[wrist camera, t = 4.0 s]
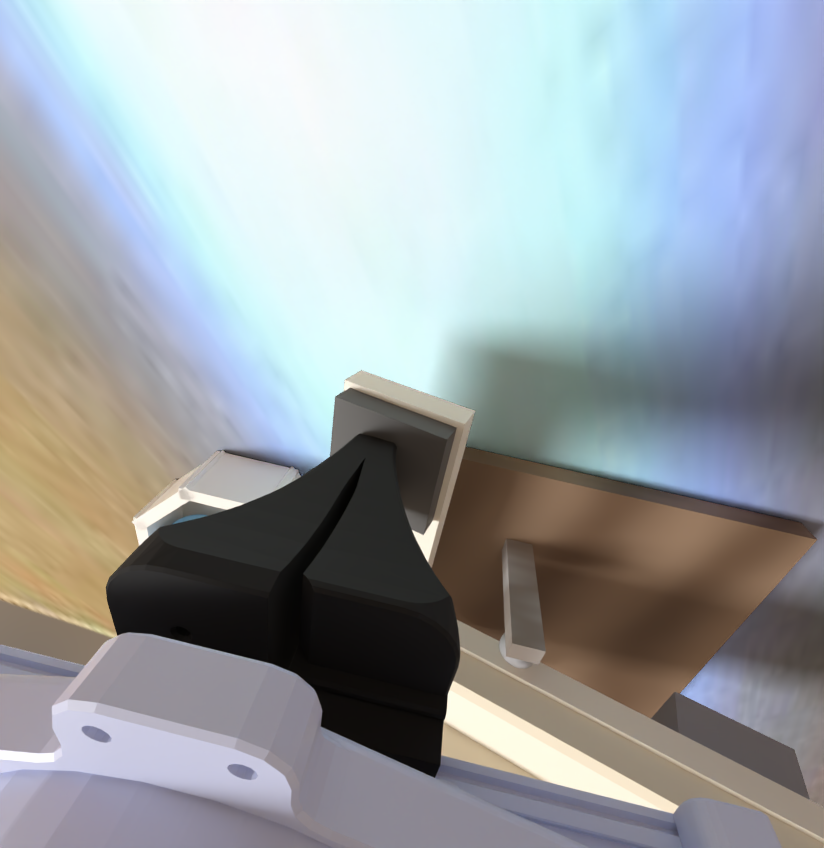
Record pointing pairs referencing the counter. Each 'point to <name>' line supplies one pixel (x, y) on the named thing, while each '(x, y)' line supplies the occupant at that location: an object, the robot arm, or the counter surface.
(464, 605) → the lever stand
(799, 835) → the tipping lever
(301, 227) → the counter surface
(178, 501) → the cup
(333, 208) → the counter surface
